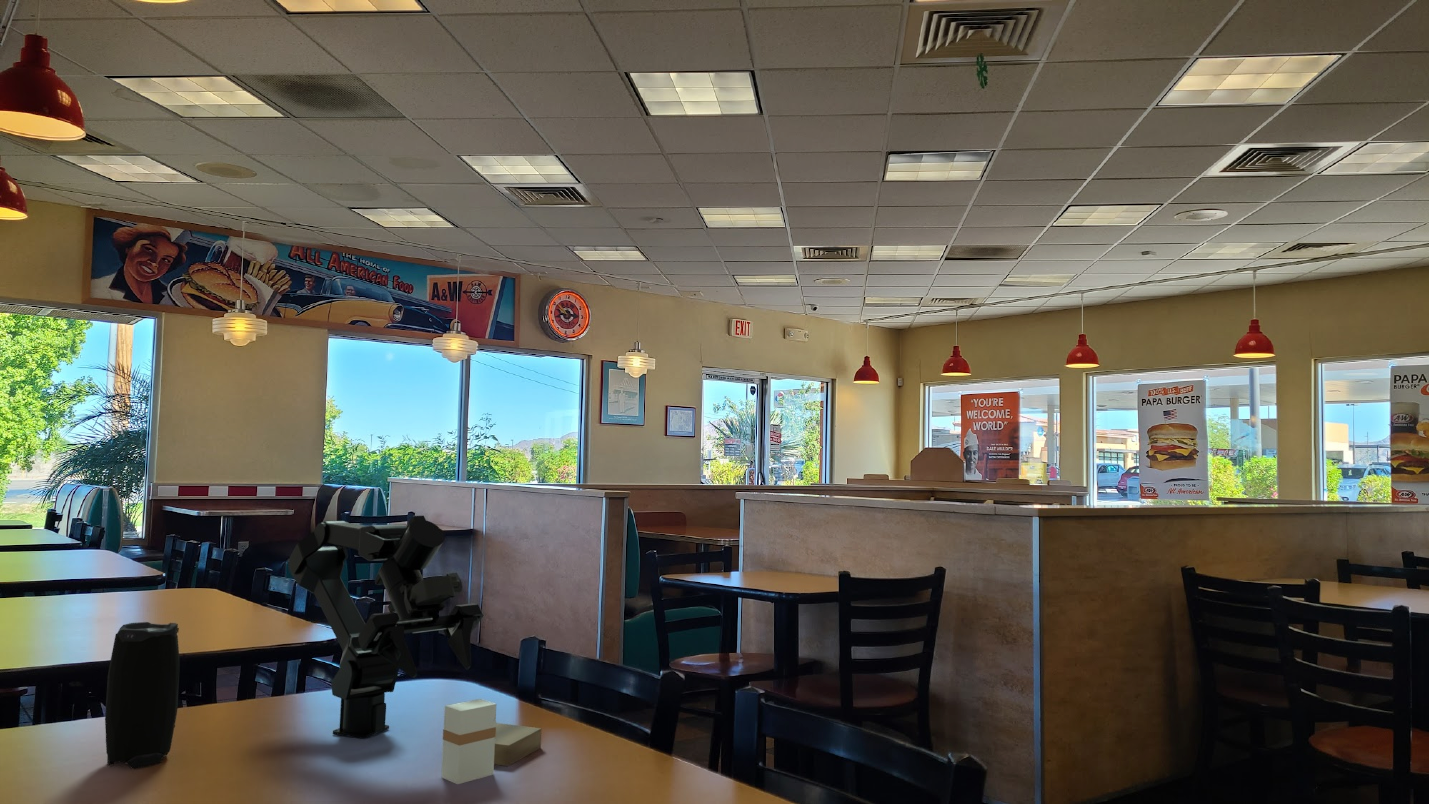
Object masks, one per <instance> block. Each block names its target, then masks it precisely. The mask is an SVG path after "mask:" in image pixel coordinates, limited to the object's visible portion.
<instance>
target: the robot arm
mask: <svg viewBox="0 0 1429 804" xmlns="http://www.w3.org/2000/svg"><path fill="white" fill-rule="evenodd" d="M444 542H445V533H444V531H443V529H442V528H440V527H439V526H438V525H437V524H435V523H434V522H432V521H429V520H427V519H426V518H425V516H424V515H411V518H410V519H409V521H408V523H407V525H406V524H371V525H370V524H369V525H362V524H357V523H349V522H348V521H345V520H330V521H329V520H327V521H322V522H319V523H318V524H316V527H315V528H314V530H313V531H312V532H311V533H310V534H308V535H307V536H306V537H303V538H302V539H301V540H300V541H298V542H297V544H296V545H295V547H294V549H293V551H292V552H291V554H290V556H289V558H288V571H289V573H290V574H291V575H292V578H293V579H294V580H295V582H296V584H297V585H298V586H299V587H300V588H302V589H304V590H306V591H308V592H309V593H312V594H314V597H315V598H316V600H317V602H318V604H319V606H320V608H321V610H322V612H323V614H324V616H325V617H326V620H327V622H328V624H329V626H330V627H331V630H332V632H333V634H334V636H335V638H336V640H337V642H338V644H339V645H340V648H341V651H342V655H341V659H340V662H339V666H338V667H339V670H338V671H337V672H336V674H335V675H334V677H333V678H332V679H331V681H330V682H331V694H332V696H334V697H337V698H339V699H340V711H339V712H340V713H339V727H338V728H336V729H333V730H332V735H339V736H345V737H352V738H353V737H354V738H360V739H364V738H369V737H372V736H374V735H377V734H378V733H381V732H385V731H386V730H388V729H390V725H388V724H386V718H387V716H386V715H387V703H386V702H385V701H386V699H385V696H386V693H393V692H395V691H394V690H395V687H396V686H395V685H396V682H397V678H398V675H399V670H401V671H402V672H403V673H405V674H406V675H408V677H410V678H411V679H414V678H416V677H417V676H418V670H417V667H416V664H415V661H414V659H413V657H412V655H411V652H410V650H409V648H408V647H409V646H408V645H407V643H406V640H405V638H406V637H405V634H411V633H412V634H418V633H427V632H433V631H442V630H443V633H444V635H445V637H447V638H448V640H447V642H446V643H447V644H448V645H449V647H450V649H451V650H452V652H453V653H454V655H455V656H456V658H457V659H458V661H459V662H460V664H461V666H463V667H464V668H465V669H466V670H469V669H470V667H471V666H472V651H471V650H472V649H471V636H472V635H471V634H472V633H473V631H474V630H475V629H476V628H477V626H478V625H479V623H480V621H481V620H482V619H483V617H484V612H483V611H482V609H481V607H480V605H479V604H477V603H473V602H472V603H465V604H464V603H463V604H456V605H455V606H454V607H453V608H452V610H451V611H450V613H449V614H448V615H440V612H441V611H444V609H445V607H446V604H445V602H446V601H448V600H449V599H451V598H452V599H453V598H454V597H456V595H458V594H459V593H460V592H462V591H463V582H462V579H461V578H460V576H459V574H458V572H448V573H447V574H446V575H443V576H432V577H425V578H424V577H423V575H422V574H421V570H424V569H426V568H427V567H428V566H429V565H430V563H431V562H432V560H433V559H434V557H435V556H436V554H437V553H438V551H439V550H440V548H441V547H442V545H443V543H444ZM324 545H330V546H324ZM331 545H332V546H331ZM348 549H351V550H352V549H353V550H357V551H358V555H359V556H360V557H362V558H363V559H365V560H366V561H368V562H373V561H374V562H375V561H383V563H382V565H381V566H380V567H379V568H378V572H377V574H376V576H375V578H374V583H375V585H377V586H380V585H383V586H384V588H385V590H386V593H387V595H388V597H389V600H390V603H389V604H388V606H387V608H388V611H389V612H380V613H372V614H370V616H369V618H368V619H367V621H366V622H365V621H364V619H363V617H362V615H361V613H360V612H359V609H358V608H357V606H356V604H355V602H354V600H353V598H352V597H351V595H350V593H349V591H348V589H347V587H346V585H345V584H344V582H343V580H342V578H341V577H342V574H343V571H344V567H345V563H346V561H347V559H348V558H349V553H348Z"/></svg>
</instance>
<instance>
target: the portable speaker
mask: <svg viewBox="0 0 1429 804" xmlns="http://www.w3.org/2000/svg"><path fill="white" fill-rule="evenodd" d="M178 626H179V623H176V622H169V623H168V624H165V623H164V624H163V623H162V624H160V623H151V622H148V621H143V622H140V621H139V622H129V623H125V624H122V626H121V627H119V629H118V631H117V633H115V635H114V636H115V637H114V642H113V647H112V650H111V655H110V661H109V662H110V663H109V666H108V670H107V671H108V672H107V683H106V685H107V686H106V696H105V697H106V698H105V715H104V724H105V726H104V727H105V748H106V754H107V756H106V757H107V760H106V763H107V766H109V767H111V766H114V765H115V763H122V764H127V765H128V767H130V769H134V770H136V769H141V768H146V767H147V768H148V767H149V766H150V767H151V766H153V765H158V764H160V763H161V762H162V760H164V757H165V756H167V755H168V754H169V752H170V751H171V748H172V742H173V737H174V731H175V728H176V720H177V713H178V708H179V705H178V703H179V685H180V684H179V683H180V666H181V662H180V661H181V660H180V649H179V637H178V633H179V631H180V627H178Z"/></svg>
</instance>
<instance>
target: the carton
mask: <svg viewBox="0 0 1429 804" xmlns="http://www.w3.org/2000/svg"><path fill="white" fill-rule="evenodd" d="M443 717H444V718H443V730H442V755H441V756H442V759H441V778H442V779H444V780H446V781H449V782H451V783H454V784H455V785H461V784H463V783H464V784H465V783H467V782H470V781H476V780H479V779H482V778H486V777H490V776H492V775H494V774H495V773H494V770H495V769H494V768H495V767H494V766H495V764H494V750H495V737H496V723H497V722H496V719H497V703H494V702H493V701H489V700H486V699H482V698H479V699H472V700H468V701H463V702H458V703H452V704H448V705H444V716H443Z"/></svg>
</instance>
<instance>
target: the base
mask: <svg viewBox="0 0 1429 804" xmlns="http://www.w3.org/2000/svg"><path fill="white" fill-rule="evenodd" d="M541 747H542V728H541V727H533V726H532V727H531V726H524V725H516V724H508V723H501V722H496V737H495V750H494V765H496V766H497V765H498V766H504V767H509V766H511V765H512V764H514V763H516V762H518V761H520V760H521V759H523V758H525V757H527V756H528V755H530V754H532V753H534V752H536V751H538V750H540V749H541Z"/></svg>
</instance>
